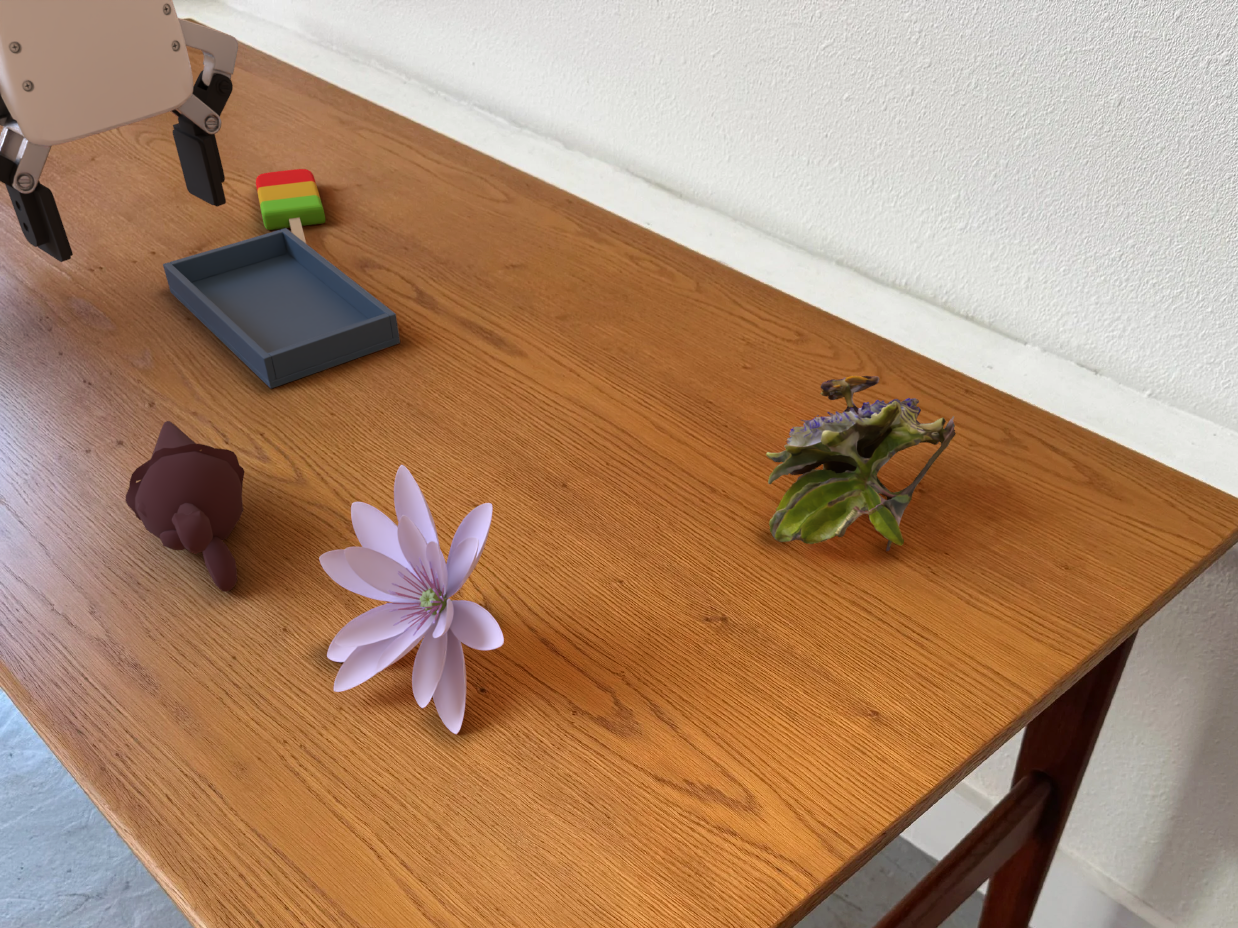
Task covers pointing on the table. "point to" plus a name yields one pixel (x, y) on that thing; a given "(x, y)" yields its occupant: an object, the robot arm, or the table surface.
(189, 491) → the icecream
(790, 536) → the passion flower
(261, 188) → the popsicle
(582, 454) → the table surface
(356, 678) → the water lily
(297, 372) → the tray
